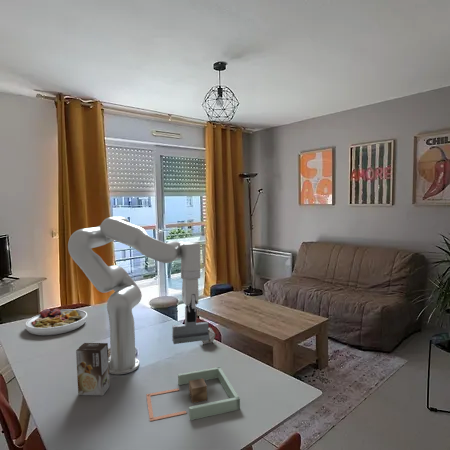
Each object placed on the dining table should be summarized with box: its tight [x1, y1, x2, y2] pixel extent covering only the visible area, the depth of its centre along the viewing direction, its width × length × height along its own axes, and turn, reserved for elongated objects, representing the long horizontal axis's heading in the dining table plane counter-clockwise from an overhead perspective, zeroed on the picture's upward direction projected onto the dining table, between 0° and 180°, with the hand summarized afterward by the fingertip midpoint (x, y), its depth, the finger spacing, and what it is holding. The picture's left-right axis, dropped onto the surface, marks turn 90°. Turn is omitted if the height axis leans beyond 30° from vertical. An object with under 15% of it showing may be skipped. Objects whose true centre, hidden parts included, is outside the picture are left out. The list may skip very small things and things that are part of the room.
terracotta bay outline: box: [146, 388, 187, 422], centre depth 104 cm, size 11×14×1 cm
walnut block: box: [188, 378, 208, 404], centre depth 108 cm, size 5×5×5 cm
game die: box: [201, 325, 218, 346], centre depth 150 cm, size 9×8×10 cm
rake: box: [171, 305, 209, 345], centre depth 124 cm, size 4×14×13 cm, turn 108°
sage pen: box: [177, 366, 241, 421], centre depth 109 cm, size 16×21×4 cm
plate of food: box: [25, 308, 88, 336], centre depth 174 cm, size 30×30×8 cm
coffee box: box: [75, 342, 110, 396], centre depth 112 cm, size 9×6×16 cm
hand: (190, 319), depth 124 cm, fingers closed on rake, 2 cm apart
